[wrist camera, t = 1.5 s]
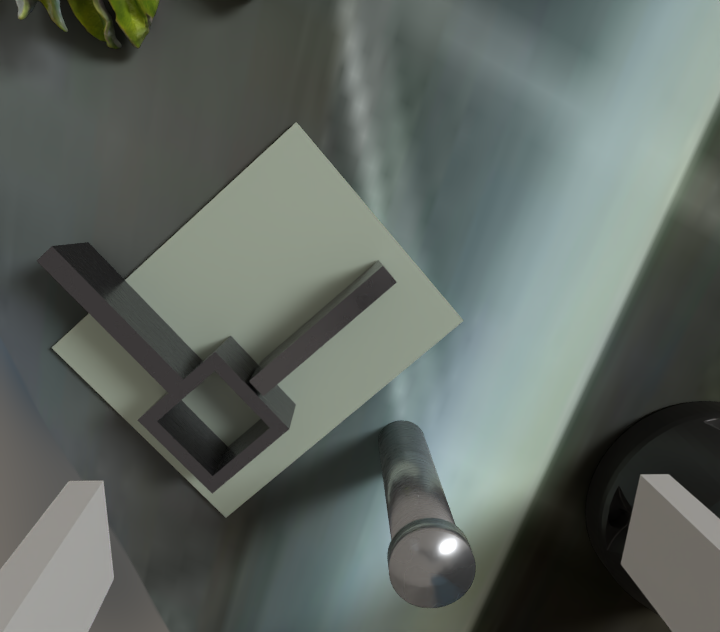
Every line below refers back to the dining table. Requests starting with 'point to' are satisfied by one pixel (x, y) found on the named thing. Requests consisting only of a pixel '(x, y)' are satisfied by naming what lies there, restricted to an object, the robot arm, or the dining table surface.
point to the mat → (271, 308)
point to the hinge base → (172, 368)
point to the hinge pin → (421, 523)
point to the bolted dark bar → (322, 327)
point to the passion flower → (102, 17)
